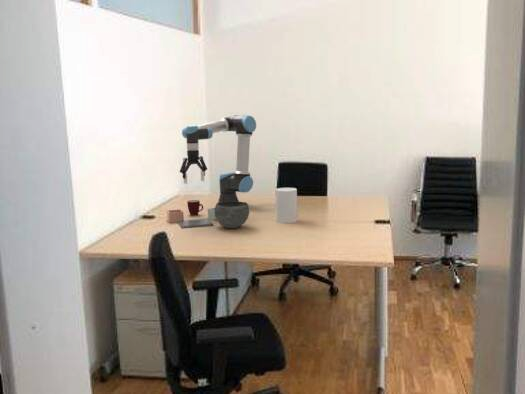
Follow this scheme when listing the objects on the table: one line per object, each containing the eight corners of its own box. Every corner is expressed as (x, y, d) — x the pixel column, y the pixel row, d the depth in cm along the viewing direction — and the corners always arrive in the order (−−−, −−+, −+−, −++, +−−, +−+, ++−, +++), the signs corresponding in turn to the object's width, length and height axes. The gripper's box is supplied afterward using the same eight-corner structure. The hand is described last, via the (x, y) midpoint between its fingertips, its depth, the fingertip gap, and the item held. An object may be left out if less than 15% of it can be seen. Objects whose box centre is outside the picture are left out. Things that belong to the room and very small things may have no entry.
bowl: (242, 232, 339) (241, 207, 336) (209, 230, 346) (208, 205, 344) (254, 224, 358) (254, 200, 356) (223, 222, 366) (222, 199, 363)
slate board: (207, 220, 373) (207, 218, 373) (213, 225, 358) (213, 223, 358) (176, 223, 367) (176, 221, 367) (181, 228, 352) (181, 226, 352)
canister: (283, 217, 376) (282, 187, 373) (301, 219, 369) (300, 188, 365) (271, 221, 366) (270, 190, 362) (289, 223, 358) (289, 191, 354)
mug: (200, 213, 395) (199, 199, 393) (205, 215, 388) (204, 200, 387) (186, 215, 390) (185, 200, 388) (191, 217, 383) (190, 202, 381)
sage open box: (218, 217, 381) (218, 207, 379) (225, 219, 374) (225, 208, 373) (208, 219, 376) (207, 208, 375) (215, 221, 370) (214, 210, 368)
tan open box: (181, 219, 377) (180, 209, 375) (183, 222, 368) (183, 211, 367) (167, 221, 374) (166, 210, 373) (169, 223, 365) (169, 213, 364)
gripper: (205, 147, 386) (206, 179, 390) (173, 150, 370) (174, 183, 374) (211, 148, 381) (213, 180, 384) (180, 151, 364) (181, 185, 368)
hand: (194, 182), depth 379 cm, fingers open, 13 cm apart
